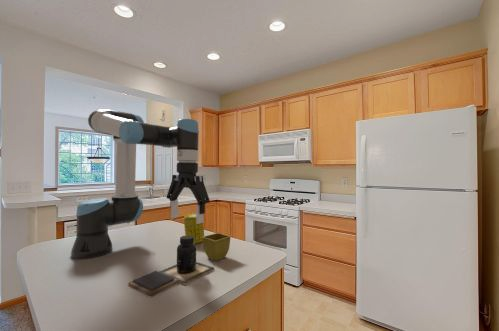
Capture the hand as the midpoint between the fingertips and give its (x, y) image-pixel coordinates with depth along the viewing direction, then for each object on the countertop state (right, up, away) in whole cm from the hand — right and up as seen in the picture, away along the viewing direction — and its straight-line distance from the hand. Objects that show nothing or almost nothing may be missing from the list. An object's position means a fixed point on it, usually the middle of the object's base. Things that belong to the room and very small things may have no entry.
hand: (186, 220), depth 84 cm
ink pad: (-8, -18, -9) cm, 22 cm away
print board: (0, -19, 0) cm, 19 cm away
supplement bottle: (0, -18, 0) cm, 18 cm away
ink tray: (-8, -18, -9) cm, 22 cm away
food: (-6, -19, +34) cm, 40 cm away
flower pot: (+9, -19, +13) cm, 25 cm away
